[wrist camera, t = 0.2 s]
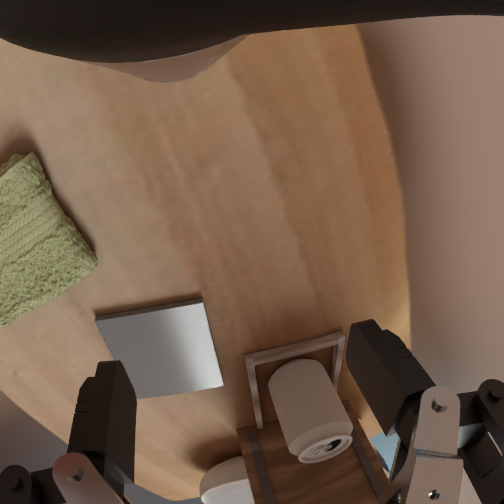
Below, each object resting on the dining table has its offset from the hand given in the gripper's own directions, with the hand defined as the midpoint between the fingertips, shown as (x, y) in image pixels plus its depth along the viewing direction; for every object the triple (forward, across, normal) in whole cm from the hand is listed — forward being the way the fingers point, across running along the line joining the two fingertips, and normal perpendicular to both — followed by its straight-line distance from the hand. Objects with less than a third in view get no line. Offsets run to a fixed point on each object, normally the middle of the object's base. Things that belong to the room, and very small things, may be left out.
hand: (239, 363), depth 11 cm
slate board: (+18, +7, +16) cm, 25 cm away
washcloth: (+18, +20, +1) cm, 27 cm away
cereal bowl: (+20, +1, +49) cm, 53 cm away
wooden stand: (+19, -8, +26) cm, 33 cm away
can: (+19, -8, +24) cm, 32 cm away
